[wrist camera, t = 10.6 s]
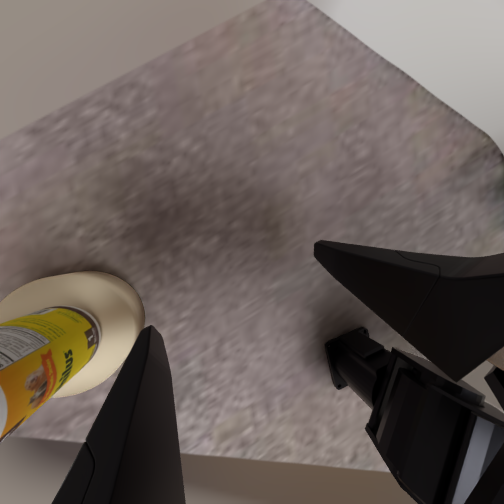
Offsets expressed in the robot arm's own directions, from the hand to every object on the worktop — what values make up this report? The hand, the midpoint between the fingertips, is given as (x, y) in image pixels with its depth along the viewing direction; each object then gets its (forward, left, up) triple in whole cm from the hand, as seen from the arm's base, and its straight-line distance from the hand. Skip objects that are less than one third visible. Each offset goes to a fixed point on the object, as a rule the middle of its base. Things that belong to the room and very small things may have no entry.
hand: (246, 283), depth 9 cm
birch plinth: (-2, +14, -12) cm, 19 cm away
